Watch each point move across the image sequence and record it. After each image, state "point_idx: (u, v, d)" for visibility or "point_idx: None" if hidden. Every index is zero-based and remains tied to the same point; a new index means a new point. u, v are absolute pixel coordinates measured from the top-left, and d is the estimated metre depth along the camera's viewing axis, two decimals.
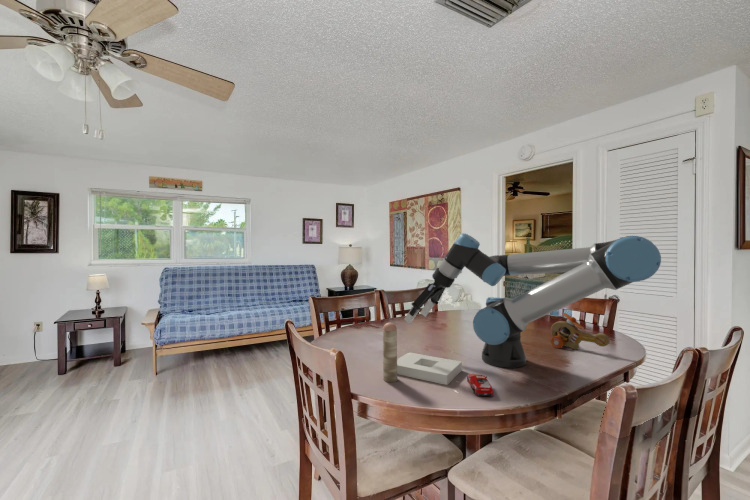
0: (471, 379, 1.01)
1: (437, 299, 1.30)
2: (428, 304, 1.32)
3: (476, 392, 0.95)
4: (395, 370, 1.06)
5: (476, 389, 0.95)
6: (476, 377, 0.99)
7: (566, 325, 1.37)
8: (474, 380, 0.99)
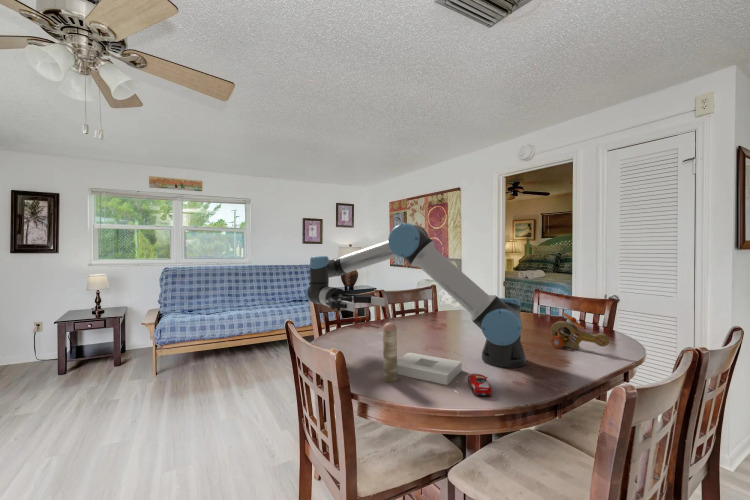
0: (471, 379, 1.01)
1: (368, 296, 1.26)
2: (374, 301, 1.23)
3: (474, 392, 0.95)
4: (395, 370, 1.06)
5: (474, 389, 0.96)
6: (475, 377, 0.99)
7: (566, 325, 1.37)
8: (473, 380, 0.99)
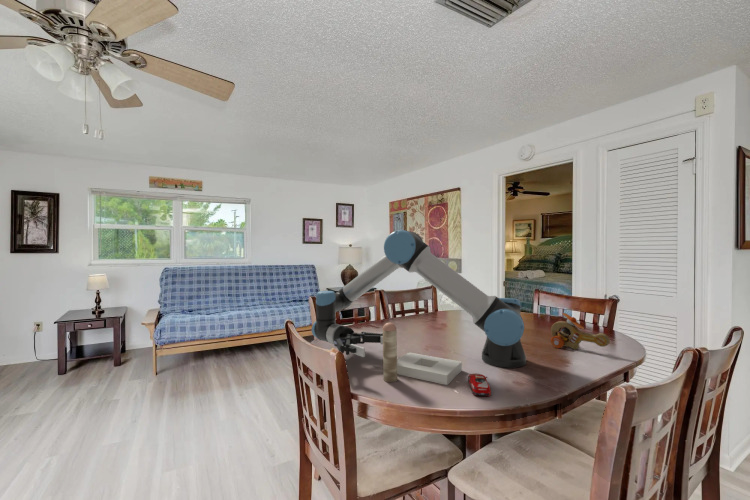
0: (470, 378, 1.01)
1: (377, 335, 1.22)
2: None
3: (473, 391, 0.96)
4: (395, 370, 1.06)
5: (473, 388, 0.96)
6: (475, 377, 0.99)
7: (566, 325, 1.37)
8: (473, 380, 0.99)
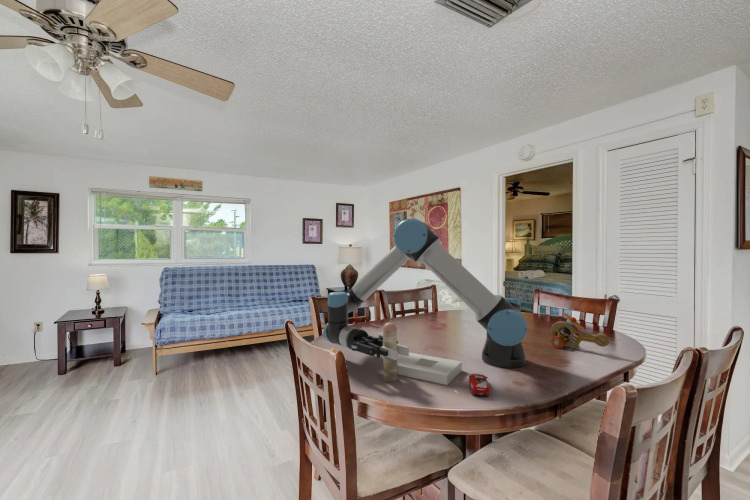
0: (470, 378, 1.02)
1: None
2: None
3: (472, 391, 0.96)
4: (395, 370, 1.06)
5: (472, 388, 0.96)
6: (475, 377, 1.00)
7: (566, 325, 1.37)
8: (472, 379, 0.99)
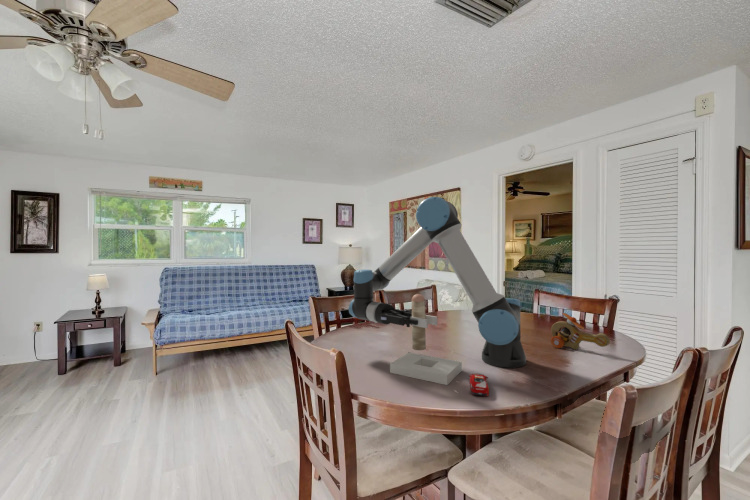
0: (470, 378, 1.02)
1: None
2: None
3: (471, 391, 0.96)
4: (424, 339, 1.11)
5: (471, 388, 0.96)
6: (474, 376, 1.00)
7: (566, 325, 1.37)
8: (472, 379, 0.99)
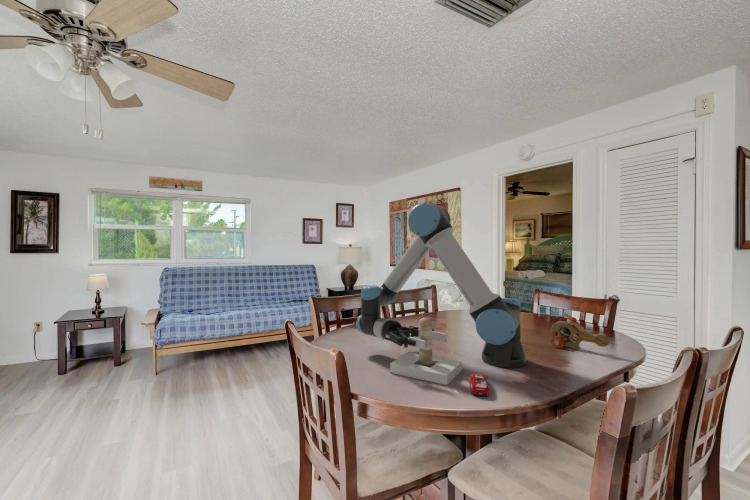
0: (470, 378, 1.02)
1: None
2: (433, 336, 1.18)
3: (472, 391, 0.96)
4: (431, 362, 1.13)
5: (472, 388, 0.96)
6: (474, 376, 1.00)
7: (566, 325, 1.37)
8: (472, 379, 0.99)
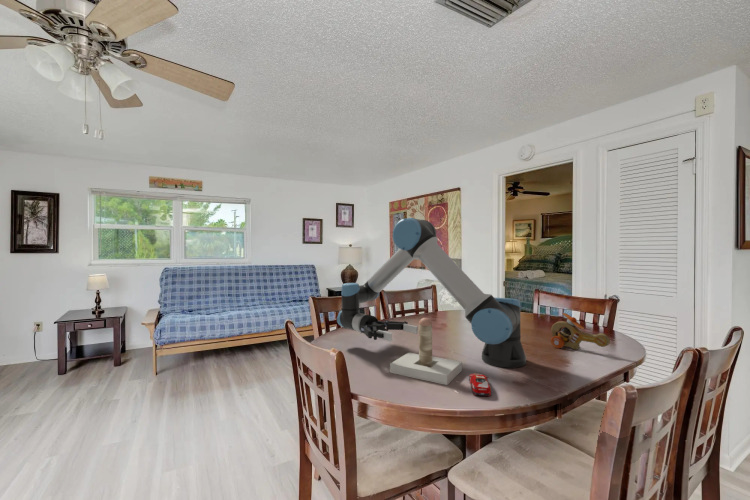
0: (471, 378, 1.02)
1: (400, 323, 1.32)
2: (406, 329, 1.29)
3: (473, 391, 0.96)
4: (431, 362, 1.13)
5: (473, 388, 0.96)
6: (475, 377, 1.00)
7: (566, 325, 1.37)
8: (473, 379, 0.99)
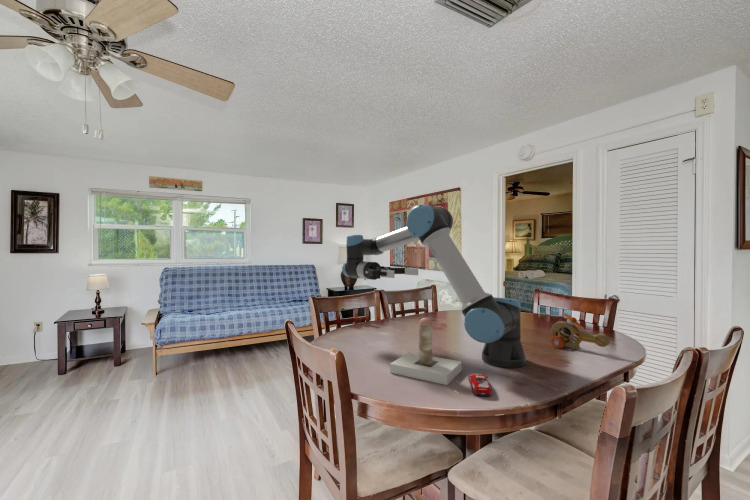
0: (471, 378, 1.02)
1: (401, 268, 1.41)
2: (407, 272, 1.38)
3: (474, 391, 0.96)
4: (431, 362, 1.13)
5: (474, 388, 0.96)
6: (475, 377, 1.00)
7: (566, 325, 1.37)
8: (473, 379, 0.99)
